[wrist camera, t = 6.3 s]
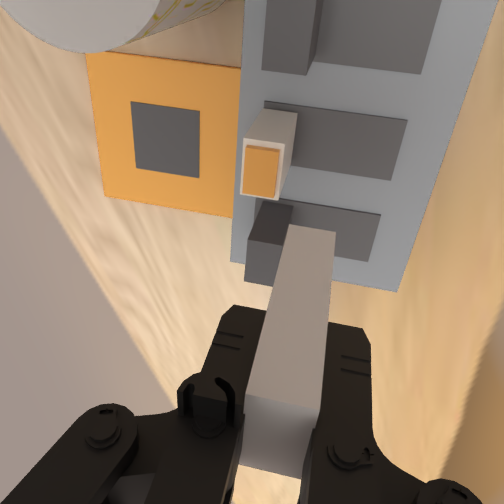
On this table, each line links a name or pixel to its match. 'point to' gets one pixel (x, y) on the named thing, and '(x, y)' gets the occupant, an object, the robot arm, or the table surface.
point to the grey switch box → (353, 123)
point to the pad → (166, 130)
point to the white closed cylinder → (102, 20)
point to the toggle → (267, 154)
